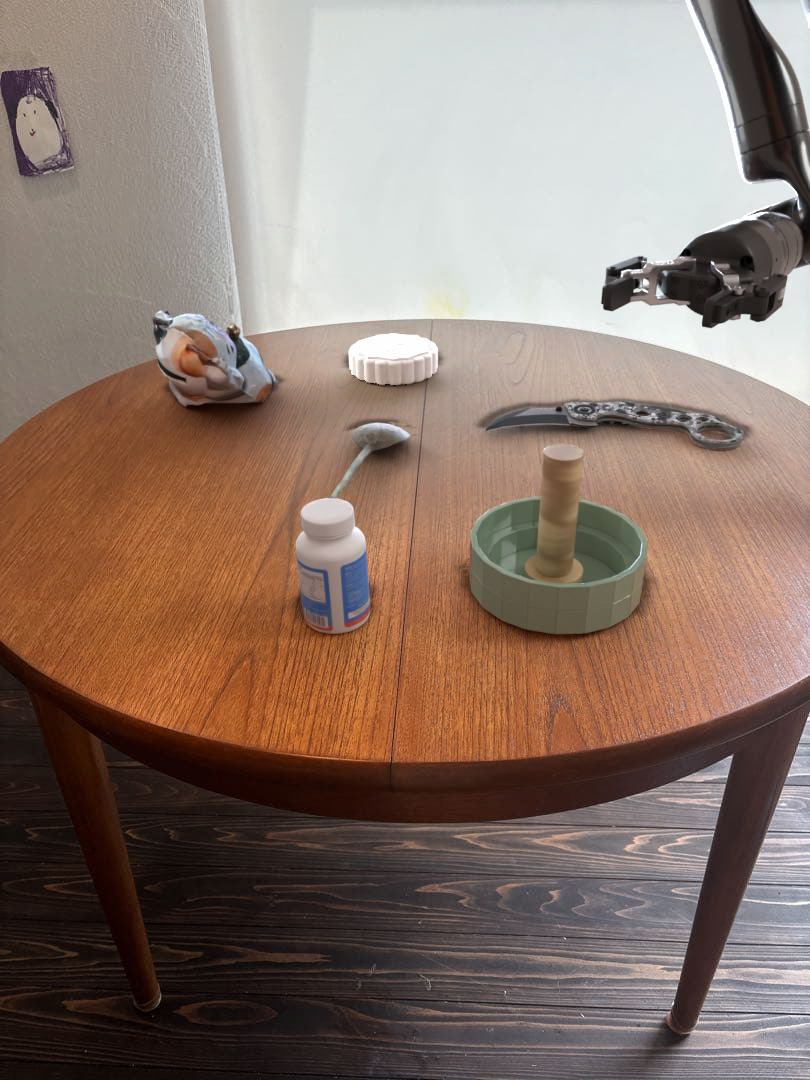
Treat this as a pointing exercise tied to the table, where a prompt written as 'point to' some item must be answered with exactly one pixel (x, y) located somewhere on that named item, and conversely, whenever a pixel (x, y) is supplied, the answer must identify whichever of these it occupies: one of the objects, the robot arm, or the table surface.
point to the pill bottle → (332, 567)
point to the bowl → (597, 603)
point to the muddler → (558, 517)
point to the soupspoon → (370, 446)
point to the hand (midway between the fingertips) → (655, 306)
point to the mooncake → (393, 359)
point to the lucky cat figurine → (209, 361)
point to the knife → (626, 420)
